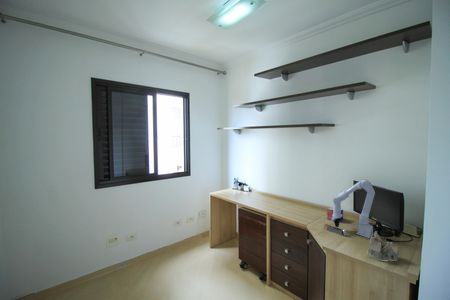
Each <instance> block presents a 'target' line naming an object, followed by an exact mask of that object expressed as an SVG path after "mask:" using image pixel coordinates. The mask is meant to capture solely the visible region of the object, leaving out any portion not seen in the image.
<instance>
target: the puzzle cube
mask: <svg viewBox="0 0 450 300" xmlns="http://www.w3.org/2000/svg"><path fill="white" fill-rule="evenodd" d="M326 213H327V214H326V216H327V217H326V219H327V220H329V221H333V220H332V217H333V216H332V215H333V206H331V207H330V208H327V209H326ZM341 214H342V217H341V221H343V220H344V209H343V208H341Z"/></svg>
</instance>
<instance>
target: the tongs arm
mask: <svg viewBox="0 0 450 300" xmlns="http://www.w3.org/2000/svg"><path fill="white" fill-rule="evenodd" d="M324 225H327V226H330V227H333V228H336V229H339V230H342V231H343V230H344V229H342V228H339V227H336V226H333V225H331V224H330V225H329V224H327V223H326V224H324Z"/></svg>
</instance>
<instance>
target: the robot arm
mask: <svg viewBox="0 0 450 300" xmlns="http://www.w3.org/2000/svg"><path fill="white" fill-rule="evenodd" d="M362 189H363V190H365V192H366V196H365V201H364V204H363V207H362V211H361V213H360V214H359V216H358V219H359V221H358V223H357V224H358V225H357V227H358V229H357V231H358V232H356V233H355V234H356V235H359V236H362V237H365V238H368V239H371V237H374V227H373V225H371V224H370V220H369V217H370V212H371V209H372V205H373V203H374V202H373V201H374V197H375V195H376V192H375V189H374V187H373V185H372V183H371V182H370V181H369V180H368V179H361V180H359V181H358V182H356V183H354V185H352V186H351V187H350V188H349V189H347V190H343V191H341V192H340V193H339V194H337V195H335V196H334V197H333V200H332V201H333V205H332V207H333V215H332V216H333V217H332V220H331V221H333V222H334V227H336V228H339V226H340V224H341V221H342V220H341V217H342V214H341V209H342V206H341V204H342V202H343V201H345V200H347V198H349V197H350V195H351V194H353V192H356V191H357V190H362Z"/></svg>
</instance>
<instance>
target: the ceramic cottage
mask: <svg viewBox="0 0 450 300" xmlns="http://www.w3.org/2000/svg"><path fill="white" fill-rule="evenodd" d="M369 239H370V240H369V246H368V249H367V250H366V254H365V256H366V255H367V256H368V257H370V258H373V259H376V260H380V261H379V262H383V261H382V260H388V261H391V260H397V259H398V260H399V257H398V256H399V249H398V248H397V247H396V246H395V247H394V246H393V242H392V241H391V242H389V241H384V240H382V238H381V237H380V235H379V234H378V231H374V232H373V236H371V237H370V238H369ZM367 256H366V257H367ZM368 257H367V258H368ZM370 258H369V259H370ZM373 259H372V260H373ZM376 260H375V261H376Z"/></svg>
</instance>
